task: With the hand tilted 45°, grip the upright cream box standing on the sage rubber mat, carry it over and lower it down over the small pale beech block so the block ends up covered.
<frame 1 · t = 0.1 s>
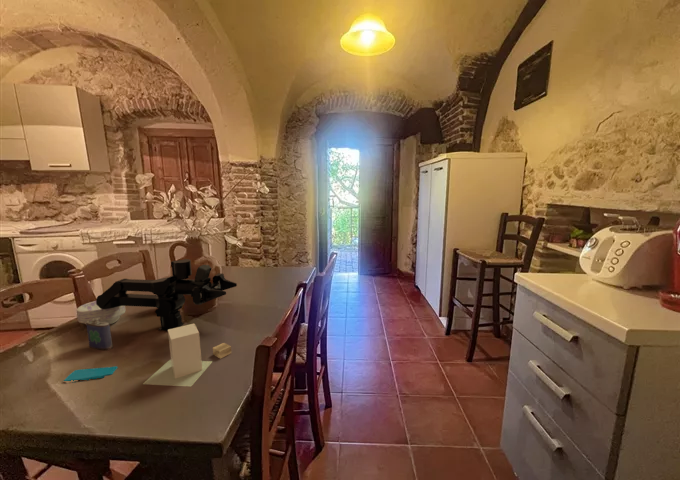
hand: (231, 288, 113), 16 cm above the table, tool horizontal, fingers open, 9 cm apart
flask: (100, 347, 103), on the table
jar: (171, 308, 137), on the table
paper bowls: (103, 322, 122), on the table
sponge: (91, 377, 88), on the table
block: (222, 355, 99), on the table
upright cream box: (186, 368, 91), resting on mat
mat: (179, 373, 89), on the table
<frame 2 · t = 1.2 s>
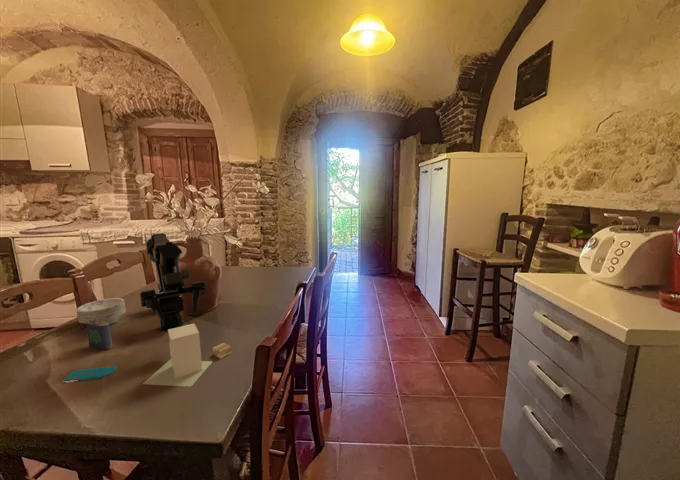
hand: (179, 316, 95), 14 cm above the table, tool tilted 45°, fingers open, 9 cm apart
nothing on the table moved.
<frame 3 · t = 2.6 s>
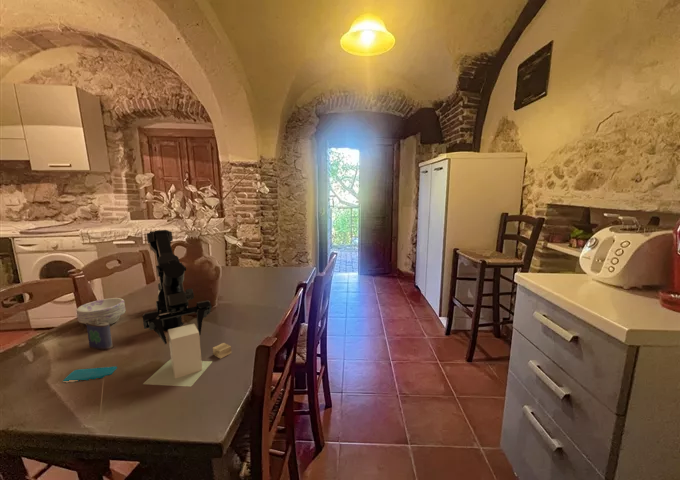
hand: (183, 339, 91), 9 cm above the table, tool tilted 45°, fingers open, 9 cm apart
nothing on the table moved.
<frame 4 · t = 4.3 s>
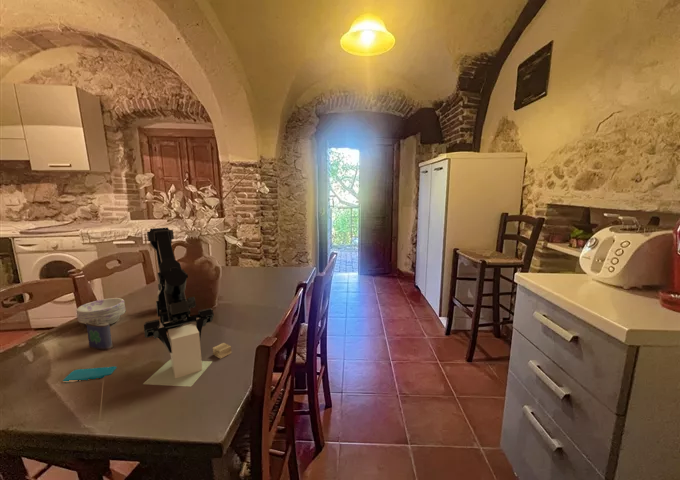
hand: (185, 348, 89), 7 cm above the table, tool tilted 45°, fingers closed on upright cream box, 7 cm apart
upright cream box: (186, 368, 91), resting on mat, touching gripper
everything else where it was.
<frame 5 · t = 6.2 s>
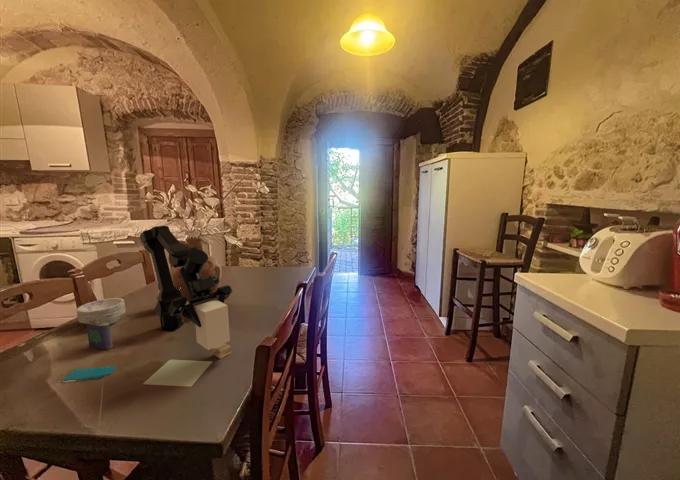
hand: (212, 322, 94), 12 cm above the table, tool tilted 45°, fingers closed on upright cream box, 7 cm apart
upright cream box: (213, 341, 95), point 6 cm above the table, touching gripper
everything else where it was.
when the fingers open (8 cm above the table, at t = 8.5 s): upright cream box drops 1 cm, on the table.
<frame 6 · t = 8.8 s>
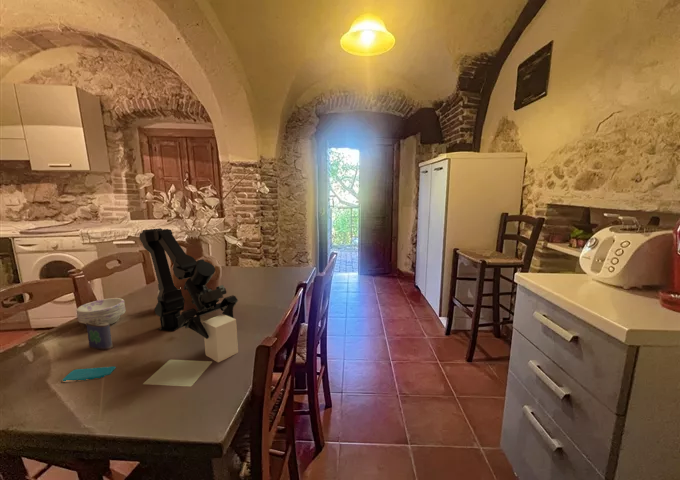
hand: (221, 332, 97), 8 cm above the table, tool tilted 45°, fingers open, 9 cm apart
upright cream box: (222, 354, 99), on the table
everything else where it was.
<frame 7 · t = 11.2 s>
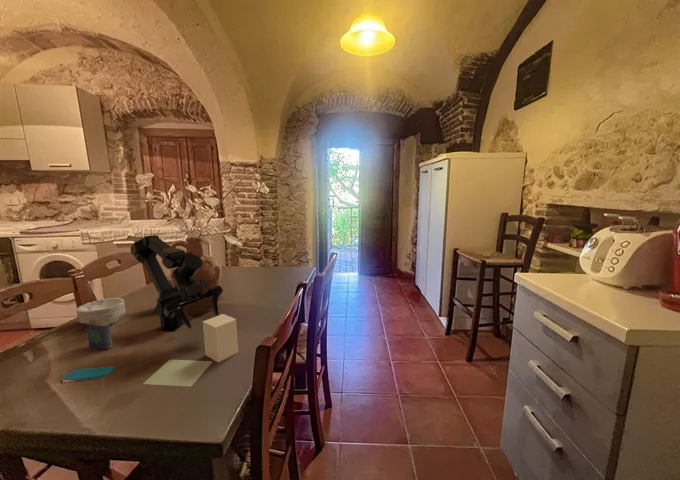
hand: (204, 322, 103), 9 cm above the table, tool tilted 40°, fingers open, 9 cm apart
nothing on the table moved.
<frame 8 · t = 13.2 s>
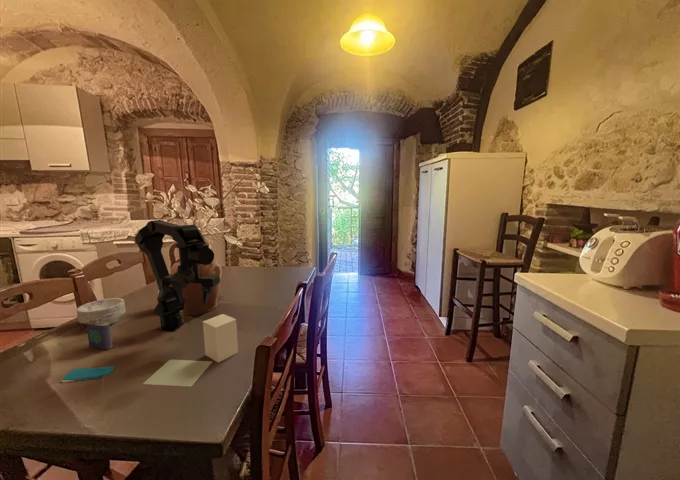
hand: (193, 303, 108), 13 cm above the table, tool pointing down, fingers open, 9 cm apart
nothing on the table moved.
at the end: upright cream box 0.2 cm from the block (horizontally); upright cream box tilted 0°; block moved 0.2 cm from its start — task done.
